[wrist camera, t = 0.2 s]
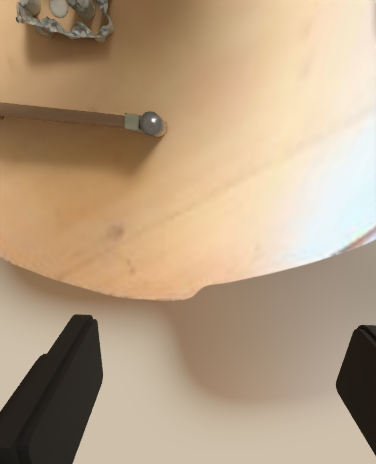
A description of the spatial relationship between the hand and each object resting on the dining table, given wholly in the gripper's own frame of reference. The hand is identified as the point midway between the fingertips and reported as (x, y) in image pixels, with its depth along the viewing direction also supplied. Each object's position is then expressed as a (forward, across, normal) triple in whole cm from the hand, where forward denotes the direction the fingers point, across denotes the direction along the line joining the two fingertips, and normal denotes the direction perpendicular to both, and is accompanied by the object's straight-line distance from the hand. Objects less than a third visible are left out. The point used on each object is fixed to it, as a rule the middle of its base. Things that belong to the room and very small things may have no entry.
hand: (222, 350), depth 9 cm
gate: (+30, +17, -10) cm, 36 cm away
